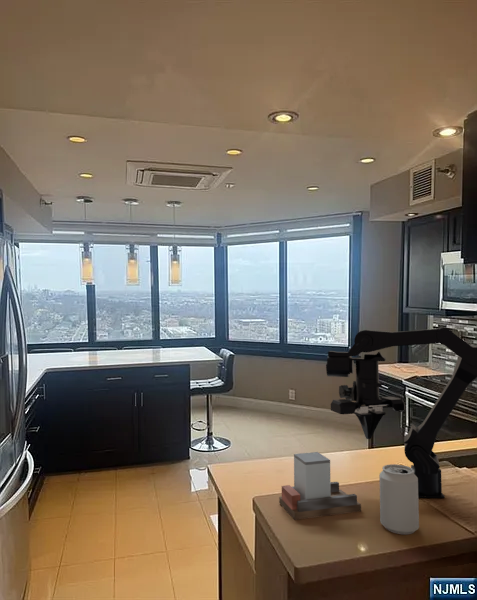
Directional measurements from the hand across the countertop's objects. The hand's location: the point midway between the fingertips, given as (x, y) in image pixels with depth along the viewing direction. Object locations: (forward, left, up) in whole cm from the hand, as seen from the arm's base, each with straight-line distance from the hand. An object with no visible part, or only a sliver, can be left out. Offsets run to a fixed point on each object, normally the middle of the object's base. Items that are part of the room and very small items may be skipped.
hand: (368, 438), depth 114 cm
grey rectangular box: (+16, +15, -10) cm, 24 cm away
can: (-1, +23, -12) cm, 26 cm away
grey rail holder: (+14, +14, -12) cm, 23 cm away
